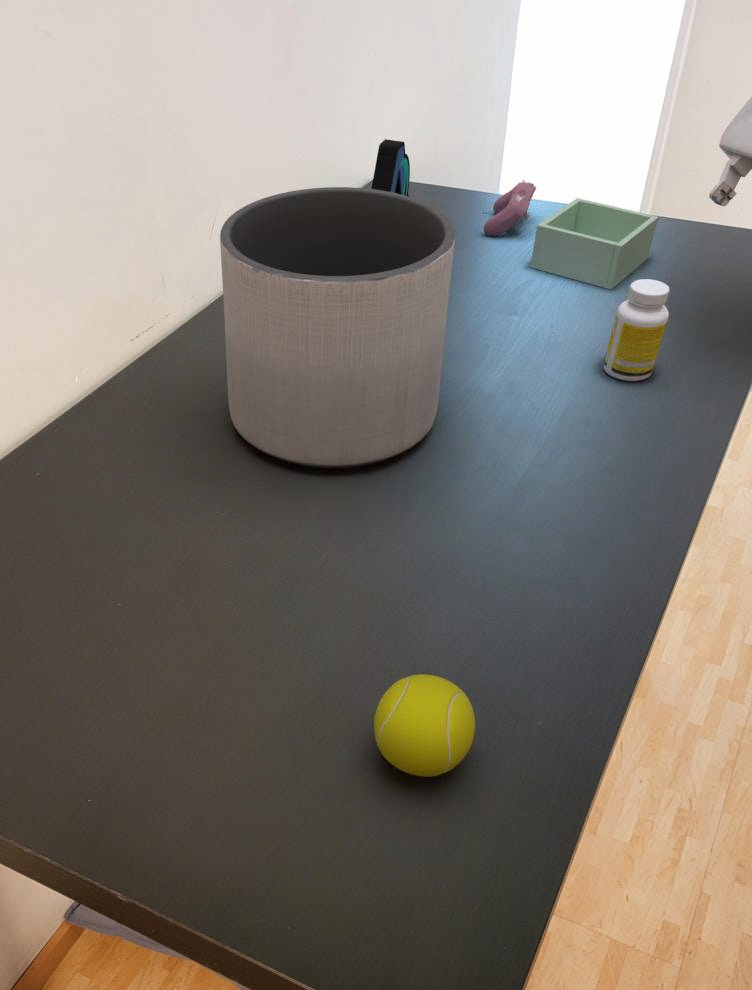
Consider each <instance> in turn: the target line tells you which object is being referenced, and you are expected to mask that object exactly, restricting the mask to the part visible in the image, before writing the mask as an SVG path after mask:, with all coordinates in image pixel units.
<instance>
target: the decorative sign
mask: <svg viewBox="0 0 752 990" xmlns="http://www.w3.org/2000/svg"><path fill="white" fill-rule="evenodd" d="M376 155H377V157H376V161H375V167H374V171H373V177H372V178H373V179H372V183H371V188H370V189H375V190H382V191H387V192H392V193H397V194H401V195H405V196H408V197H410V194H409V189H410V178H411V166H410V165H411V164H410V159H409V158H410V157H409V155H408V153H406V145H405V141H400V140H394V139H386V138H385V139H383V140H382V142H380V143H379V145H378V150H377V154H376Z"/></svg>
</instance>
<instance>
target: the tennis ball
mask: <svg viewBox="0 0 752 990" xmlns="http://www.w3.org/2000/svg"><path fill="white" fill-rule="evenodd" d="M474 712H475V711H474V709H473V705H472V703H471V701H470V699H469V697H468V696H467V695H466V693H465V692H464V691H463V690H462V688H460V687H459V686H458V685H456V684H455V683H453V682H452V681H450V680H448V679H446V678H444V677H441V676H438V675H434V674H433V675H432V674H423V673H421V674H420V673H419V674H413V675H409V676H406V677H403V678H401V679H399V680H397V681H395V683H393V684H392V685H391V686H390V687H389V688H388V689H386V691H385V692H384V694H383V695H382V697H381V699H380V700H379V702H378V705H377V707H376V710H375V713H374V719H373V731H374V739H375V742H376V745H377V746H376V747H377V748H378V750H379V751H380V753H381V755H382V756H383V757H384V758H385V760H386V761H387V762H388V763H389V764H391V765H392V766H393V767H395V768H397V769H398V770H400V771H402V772H404V773H406V774H409V775H413V776H418V777H427V778H428V777H429V778H430V777H436V776H437V777H438V776H440V775H442V774H446V773H448V772H450V771H451V770H453V769H454V768H455V767H456V766H458V765H459V764H460V763H461V762H462V761H463V760H464V758H466V756H467V754H468V752H469V751H470V749H471V747H472V744H473V741H474V739H475V738H474V737H475V733H476V731H475V730H476V718H475V713H474Z"/></svg>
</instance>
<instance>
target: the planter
mask: <svg viewBox="0 0 752 990" xmlns="http://www.w3.org/2000/svg"><path fill="white" fill-rule="evenodd" d="M454 227H455V226H454V225H453V223H452V221H451V220H450V219H449V218H448V217H447V215H446V214H444V213H443V212H442V211H440V210H439V209H438V208H436V207H434V206H432V205H430V204H429V203H426V202H425V201H423V200H419V199H417V198H415V197H411V196H409V197H408V196H405V195H401V194H397V193H392V192H387V191H382V190H375V189H371V188H365V187H352V186H351V187H350V186H331V187H329V186H327V187H314V188H313V187H312V188H303V189H297V190H290V191H286V192H281V193H277V194H273V195H270V196H267V197H263V198H260V199H257V200H255V201H253V202H250V203H249V204H246V205H245V206H243V207H241V208H239V209H238V210H236V211H235V212H234V213H232V214H231V215H230V216H229V217H228V218H227V219H226V220H225V221H224V223H223V224H222V226H221V229H220V234H219V245H220V262H221V279H222V294H223V295H222V296H223V297H222V298H223V317H224V318H223V319H224V335H225V336H224V340H225V363H226V385H227V386H226V387H227V401H228V402H227V403H228V409H229V414H230V419H231V422H232V425H233V427H234V429H235V430H236V431H237V433H238V434H239V435H240V436H241V437H242V439H244V441H246V442H247V443H248V444H250V445H251V446H252V447H254V448H256V450H258V451H260V452H262V453H264V454H266V455H268V456H270V457H273V458H275V459H278V460H281V461H283V462H285V463H289V464H292V465H297V466H302V467H307V468H308V467H309V468H315V469H352V468H359V467H364V466H369V465H373V464H377V463H381V462H384V461H387V460H389V459H392V458H394V457H397V456H399V455H401V454H404V453H405V452H406V451H408V450H410V449H412V448H414V446H416V445H417V444H418V443H420V442H421V441H422V440H423V439H424V438H425V437H426V436H427V435H428V433H429V432H430V431H431V429H432V428H433V425H434V423H435V420H436V417H437V412H438V407H439V399H440V390H441V380H442V372H443V371H442V370H443V360H444V359H443V358H444V349H445V339H446V327H447V319H448V318H447V317H448V307H449V296H450V287H451V279H452V270H453V269H452V268H453V260H454V251H455V243H456V241H455V240H456V232H455V228H454Z"/></svg>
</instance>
